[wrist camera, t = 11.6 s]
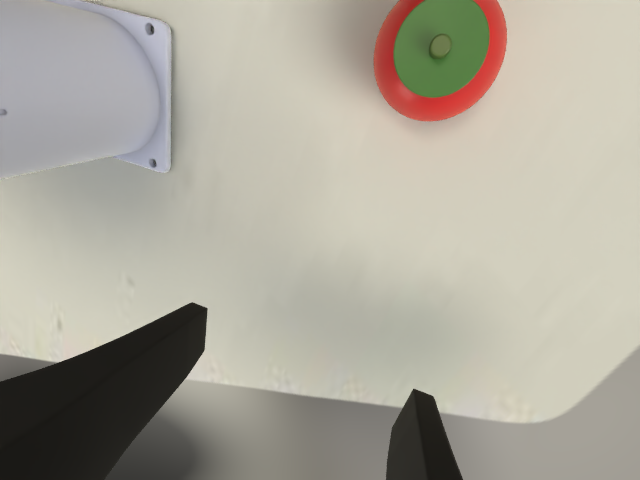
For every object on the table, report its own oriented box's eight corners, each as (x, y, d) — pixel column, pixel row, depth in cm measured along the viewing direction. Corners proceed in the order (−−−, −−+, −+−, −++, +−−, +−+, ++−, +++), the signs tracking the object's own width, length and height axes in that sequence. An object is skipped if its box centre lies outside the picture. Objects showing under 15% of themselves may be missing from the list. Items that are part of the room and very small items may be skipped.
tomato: (368, 103, 16) (345, 108, 11) (399, -14, 13) (389, -73, 9) (463, 128, 15) (485, 145, 10) (512, 10, 13) (570, -41, 8)
